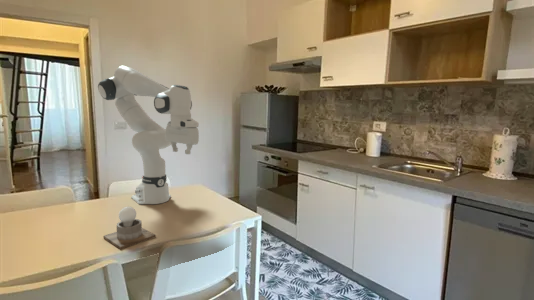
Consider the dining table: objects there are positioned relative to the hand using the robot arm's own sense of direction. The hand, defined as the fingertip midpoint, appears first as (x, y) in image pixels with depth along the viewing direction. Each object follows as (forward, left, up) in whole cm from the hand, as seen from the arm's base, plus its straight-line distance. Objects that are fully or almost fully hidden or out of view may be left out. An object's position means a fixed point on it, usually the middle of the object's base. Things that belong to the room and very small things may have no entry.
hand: (181, 152), depth 136 cm
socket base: (+2, -26, -31) cm, 41 cm away
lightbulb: (0, -26, -30) cm, 40 cm away
